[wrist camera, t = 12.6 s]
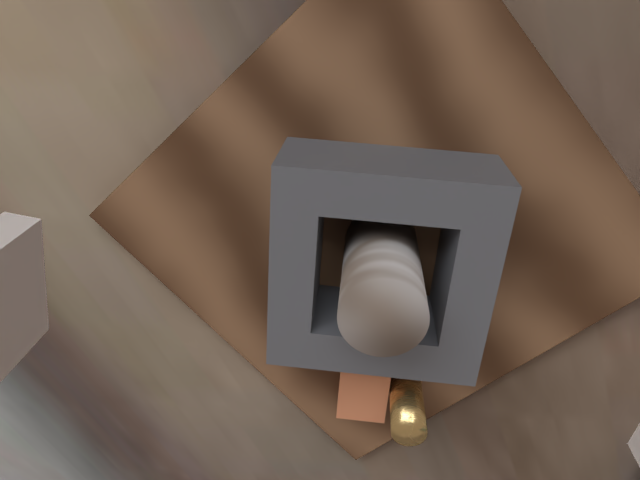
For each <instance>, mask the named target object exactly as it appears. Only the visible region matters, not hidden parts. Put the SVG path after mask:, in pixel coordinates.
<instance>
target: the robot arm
mask: <svg viewBox="0 0 640 480" xmlns="http://www.w3.org/2000/svg"><path fill="white" fill-rule="evenodd" d="M48 330H49V321H48V306H47V292H46V278H45V263H44V249H43V235H42V220H41V219H39V218H34V217H29V216H23V215H18V214H13V213H8V212H3V213H2V214H0V382H1V381H2V380H3V379H4V378H5V377H6V376H7V375H8V373H9V372H10V371H11V370H12V369H13V368H14V367H15V366H16V365H17V364H18V363H19V361H20V360H21V359H22V358H23V357H24V356H25V355H26V354H27V353H28V352H29V350H30V349H31V348H32V347H33V346H34V345H35V344H36V343H37V342H38V341H39V340H40V338H41V337H42V336H43V335H44V334H45V333H46V332H47V331H48ZM627 444H628V446H629V448H630V450H631V452H632V454H633V456H634V457H635V459H636V461H637V463H638V465H639V467H640V423H639V425H638V427H637V428H636V430H635V432H634V433H633V435H632V437H631V438H630V440H629V442H628V443H627Z"/></svg>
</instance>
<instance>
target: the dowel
mask: <svg viewBox="0 0 640 480" xmlns="http://www.w3.org/2000/svg"><path fill="white" fill-rule="evenodd" d="M389 397H390V423H391V436H392V438H393V439H394V441H395V442H397V443H398V444H400V445H403V446H416V445H419V444H421V443H422V442H423V441H424V440H425V439H426V437H427V424H426V415H425V407H424V399H423V390H422V382H421V381H418V380H409V379H400V378H391V382H390V388H389Z"/></svg>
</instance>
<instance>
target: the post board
mask: <svg viewBox="0 0 640 480" xmlns="http://www.w3.org/2000/svg"><path fill="white" fill-rule="evenodd" d="M287 137H296V138H308V139H319V140H331V141H343V142H354V143H366V144H378V145H390V146H401V147H413V148H425V149H436V150H448V151H460V152H471V153H483V154H495V155H499V156H500V158H501V159H502V160H503V162H504V163H505V165H506V166H507V167H508V169H509V170H510V171H511V173H512V174H513V176H514V177H515V178H516V180H517V181H518V183H519V184H520V185H521V187H522V190H521V194H520V199H519V203H518V207H517V211H516V216H515V220H514V224H513V228H512V233H511V237H510V241H509V245H508V250H507V254H506V258H505V262H504V267H503V271H502V275H501V279H500V284H499V288H498V292H497V296H496V301H495V305H494V309H493V313H492V318H491V322H490V326H489V330H488V335H487V339H486V343H485V347H484V352H483V356H482V360H481V364H480V369H479V373H478V377H477V381H476V386H475V387H474V386H465V385H455V384H446V383H437V382H427V381H421V382H422V390H423V399H424V407H425V415H426V420H427V419H428V418H430V417H432V416H434V415H435V414H437V413H439V412H441V411H442V410H444V409H446V408H448V407H449V406H451V405H453V404H455V403H456V402H458V401H460V400H461V399H463V398H465V397H467V396H468V395H470V394H472V393H474V392H475V391H477V390H479V389H481V388H482V387H484V386H486V385H488V384H489V383H491V382H493V381H495V380H496V379H498V378H500V377H502V376H503V375H505V374H507V373H509V372H510V371H512V370H514V369H516V368H517V367H519V366H521V365H523V364H524V363H526V362H528V361H530V360H531V359H533V358H535V357H537V356H538V355H540V354H542V353H544V352H545V351H547V350H549V349H551V348H552V347H554V346H556V345H558V344H559V343H561V342H563V341H565V340H566V339H568V338H570V337H572V336H573V335H575V334H577V333H579V332H580V331H582V330H584V329H585V328H587V327H589V326H591V325H592V324H594V323H596V322H598V321H599V320H601V319H603V318H605V317H606V316H608V315H610V314H612V313H613V312H615V311H617V310H619V309H620V308H622V307H624V306H626V305H627V304H629V303H631V302H633V301H634V300H636V299H638V298H640V195H639V194H638V192H637V191H636V189H635V188H634V187H633V185H632V184H631V182H630V181H629V180H628V178H627V177H626V175H625V174H624V172H623V171H622V170H621V168H620V167H619V165H618V164H617V163H616V161H615V160H614V158H613V157H612V156H611V154H610V153H609V151H608V150H607V148H606V147H605V146H604V144H603V143H602V141H601V140H600V139H599V137H598V136H597V134H596V133H595V132H594V130H593V129H592V127H591V126H590V124H589V123H588V122H587V120H586V119H585V117H584V116H583V115H582V113H581V112H580V110H579V109H578V108H577V106H576V105H575V103H574V102H573V100H572V99H571V98H570V96H569V95H568V93H567V92H566V91H565V89H564V88H563V86H562V85H561V84H560V82H559V81H558V79H557V78H556V76H555V75H554V74H553V72H552V71H551V69H550V68H549V67H548V65H547V64H546V62H545V61H544V60H543V58H542V57H541V55H540V54H539V52H538V51H537V50H536V48H535V47H534V45H533V44H532V43H531V41H530V40H529V38H528V37H527V36H526V34H525V33H524V31H523V30H522V28H521V27H520V26H519V24H518V23H517V21H516V20H515V19H514V17H513V16H512V14H511V13H510V12H509V10H508V9H507V7H506V6H505V4H504V3H503V2H502V0H306V1H305V2H304V3H303V4H302V5H301V6H300V7H299V8H298V9H297V10H296V11H295V12H294V13H293V14H292V15H291V16H290V17H289V18H288V19H287V20H286V21H285V22H284V23H283V24H282V25H281V26H280V27H279V28H278V29H277V30H276V31H275V32H274V33H273V34H272V35H271V36H270V37H269V38H268V39H267V40H266V41H265V42H264V43H263V44H262V45H261V46H260V47H259V48H258V49H257V50H256V51H255V52H254V53H253V54H252V55H251V56H250V57H249V58H248V59H247V60H246V61H245V62H244V63H243V64H242V65H241V66H240V67H239V68H238V69H237V70H235V71H234V72H233V73H232V74H231V75H230V76H229V77H228V78H227V79H226V80H225V81H224V82H223V83H222V84H221V85H220V86H219V87H218V88H217V89H216V90H215V91H214V92H213V93H212V94H211V95H210V96H209V97H208V98H207V99H206V100H205V101H204V102H203V103H202V104H201V105H200V106H199V107H198V108H197V109H196V110H195V111H194V112H193V113H192V114H191V115H190V116H189V117H188V118H187V119H186V120H185V121H184V122H183V123H182V124H181V125H180V126H179V127H178V128H177V129H176V130H175V131H174V132H173V133H172V134H171V135H170V136H169V137H168V138H167V139H166V140H165V141H164V142H163V143H162V144H161V145H160V146H159V147H158V148H157V149H156V150H155V151H154V152H153V153H152V154H151V155H150V156H149V157H148V158H147V159H146V160H145V161H144V162H143V163H142V164H141V165H140V166H138V167H137V168H136V169H135V170H134V171H133V172H132V173H131V174H130V175H129V176H128V177H127V178H126V179H125V180H124V181H123V182H122V183H121V184H120V185H119V186H118V187H117V188H116V189H115V190H114V191H113V192H112V193H111V194H110V195H109V196H108V197H107V198H106V199H105V200H104V201H103V202H102V203H101V204H100V205H99V206H98V207H97V208H96V209H95V210H94V211H93V212H92V213H91V214H90V215H89V216H90V217H91V218H93V219H94V220H95V221H96V222H97V223H98V224H99V225H100V226H101V227H102V228H103V229H105V230H106V231H107V232H108V233H109V234H110V235H111V236H112V237H113V238H114V239H115V240H117V241H118V242H119V243H120V244H121V245H122V246H123V247H124V248H125V249H126V250H127V251H129V252H130V253H131V254H132V255H133V256H134V257H135V258H136V259H137V260H138V261H139V262H140V263H142V264H143V265H144V266H145V267H146V268H147V269H148V270H149V271H150V272H151V273H152V274H154V275H155V276H156V277H157V278H158V279H159V280H160V281H161V282H162V283H163V284H164V285H166V286H167V287H168V288H169V289H170V290H171V291H172V292H173V293H174V294H175V295H176V296H178V297H179V298H180V299H181V300H182V301H183V302H184V303H185V304H186V305H187V306H188V307H190V308H191V309H192V310H193V311H194V312H195V313H196V314H197V315H198V316H199V317H200V318H202V319H203V320H204V321H205V322H206V323H207V324H208V325H209V326H210V327H211V328H212V329H214V330H215V331H216V332H217V333H218V334H219V335H220V336H221V337H222V338H223V339H224V340H226V341H227V342H228V343H229V344H230V345H231V346H232V347H233V348H234V349H235V350H236V351H238V352H239V353H240V354H241V355H242V356H243V357H244V358H245V359H246V360H247V361H248V362H250V363H251V364H252V365H253V366H254V367H255V368H256V369H257V370H258V371H259V372H260V373H262V374H263V375H264V376H265V377H266V378H267V379H268V380H269V381H270V382H271V383H272V384H274V385H275V386H276V387H277V388H278V389H279V390H280V391H281V392H282V393H283V394H284V395H286V396H287V397H288V398H289V399H290V400H291V401H292V402H293V403H294V404H295V405H296V406H298V407H299V408H300V409H301V410H302V411H303V412H304V413H305V414H306V415H307V416H308V417H310V418H311V419H312V420H313V421H314V422H315V423H316V424H317V425H318V426H319V427H320V428H322V429H323V430H324V431H325V432H326V433H327V434H328V435H329V436H330V437H331V438H332V439H334V440H335V441H336V442H337V443H338V444H339V445H340V446H341V447H342V448H343V449H344V450H346V451H347V452H348V453H349V454H350V455H351V456H352V457H353V458H354V459H355V460H357V459H358V458H360V457H362V456H364V455H365V454H367V453H369V452H371V451H372V450H374V449H376V448H378V447H379V446H381V445H383V444H385V443H386V442H388V441H390V440H392V439H393V438H392V436H391V423H390V397H389V395H388V402H387V409H386V415H385V422H384V423H376V422H367V421H358V420H349V419H340V418H336V414H337V402H338V391H339V381H340V372H335V371H325V370H316V369H307V368H298V367H288V366H279V365H270V364H266V351H267V312H268V273H269V235H270V196H271V165H272V163H273V161H274V160H275V158H276V156H277V154H278V152H279V151H280V149H281V147H282V145H283V144H284V142H285V140H286V138H287ZM440 232H441V228H437V227H426V226H415V225H404V224H394V223H383V222H372V221H361V220H351V219H340V218H329V217H324V227H323V241H322V255H321V269H320V283H319V285H327V286H337V287H340V292H339V301H338V310H337V324H338V328H339V331H340V333H341V335H342V336H343V338H344V339H345V340H346V341H347V343H348V344H350V345H351V346H352V347H353V348H355V349H356V350H358V351H360V352H362V353H364V354H367V355H371V356H376V357H392V356H397V355H400V354H403V353H406V352H408V351H409V350H411V349H413V348H414V347H416V346H417V345H418V344H419V343H420V342H421V341H422V339H423V338H424V336H425V335H426V333H427V331H428V328H429V323H430V313H429V307H428V301H427V296H429V295H430V289H431V284H432V278H433V272H434V266H435V261H436V255H437V249H438V243H439V238H440Z"/></svg>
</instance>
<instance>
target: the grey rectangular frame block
mask: <svg viewBox="0 0 640 480" xmlns="http://www.w3.org/2000/svg"><path fill="white" fill-rule="evenodd" d="M521 190H522V187H521V185H520V184H519V183H518V181H517V180H516V178H515V177H514V176H513V174H512V173H511V171H510V170H509V169H508V167H507V166H506V165H505V163H504V162H503V160H502V159H501V158H500V156H499V155H495V154H483V153H471V152H460V151H448V150H436V149H425V148H413V147H401V146H390V145H378V144H366V143H354V142H343V141H331V140H319V139H308V138H296V137H287V138H286V140H285V142H284V144H283V145H282V147H281V149H280V151H279V152H278V154H277V156H276V158H275V160H274V161H273V163H272V165H271V196H270V235H269V273H268V312H267V351H266V364H270V365H279V366H288V367H298V368H307V369H316V370H325V371H335V372H340V381H339V391H338V402H337V414H336V418H340V419H349V420H358V421H367V422H376V423H384V422H385V415H386V409H387V402H388V395H389V388H390V382H391V378H400V379H409V380H418V381H427V382H437V383H446V384H455V385H465V386H474V387H475V386H476V381H477V377H478V373H479V369H480V364H481V360H482V356H483V352H484V347H485V343H486V339H487V335H488V330H489V326H490V322H491V318H492V313H493V309H494V305H495V301H496V296H497V292H498V288H499V284H500V279H501V275H502V271H503V267H504V262H505V258H506V254H507V250H508V245H509V241H510V237H511V233H512V228H513V224H514V220H515V216H516V211H517V207H518V203H519V199H520V194H521ZM324 217H329V218H340V219H351V220H361V221H372V222H383V223H394V224H404V225H415V226H426V227H437V228H441V232H440V238H439V243H438V249H437V255H436V261H435V266H434V272H433V278H432V284H431V289H430V295H429V296H427V301H428V307H429V313H430V323H429V328H428V331H427V333H426V335H425V336H424V338H423V339H422V341H421V342H420V343H419V344H418V345H417V346H416V347H414V348H413V349H411V350H409V351H408V352H406V353H403V354H400V355H397V356H392V357H376V356H371V355H367V354H364V353H362V352H360V351H358V350H356V349H355V348H353V347H352V346H351V345H350V344H348V343H347V341H346V340H345V339H344V338H343V336H342V335H341V333H340V331H339V328H338V324H337V310H338V301H339V292H340V287H337V286H327V285H319V283H320V269H321V255H322V241H323V227H324Z"/></svg>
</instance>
